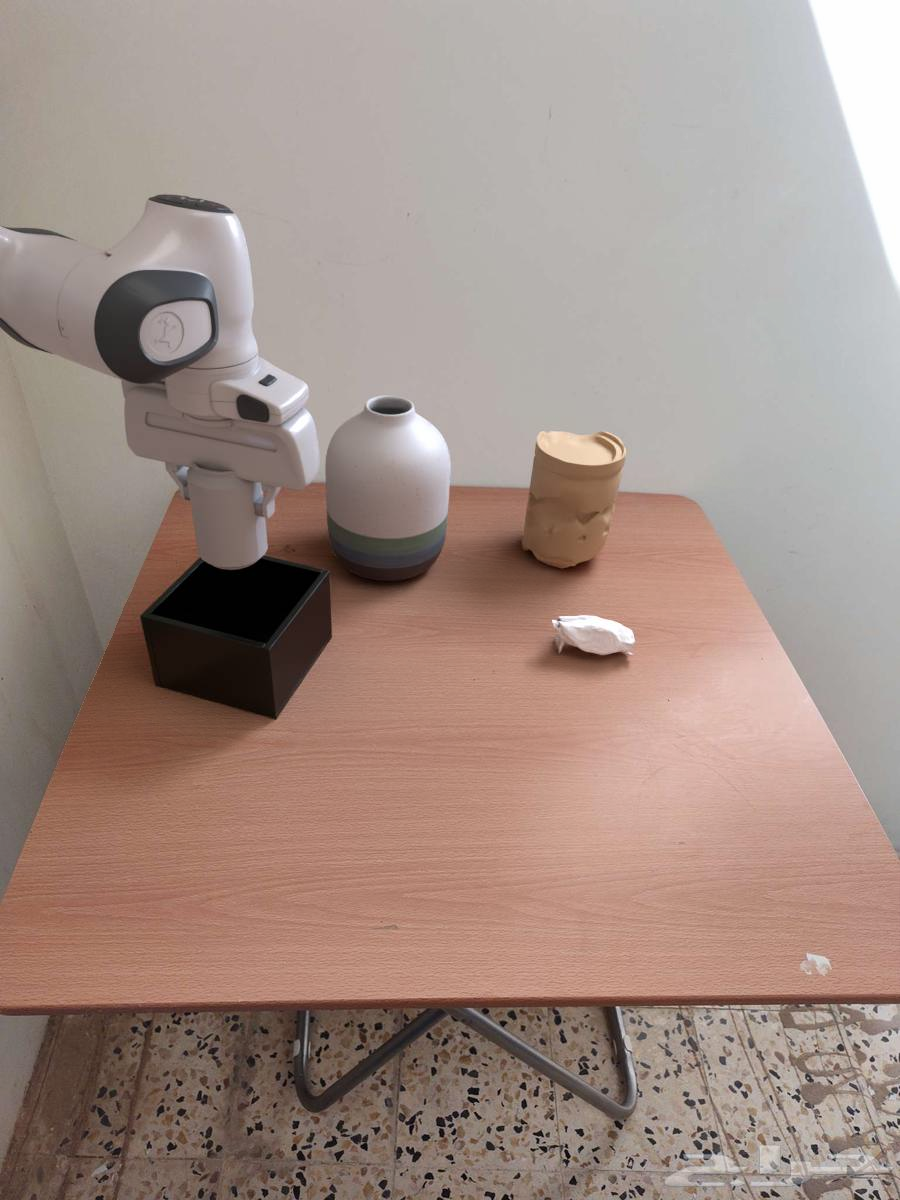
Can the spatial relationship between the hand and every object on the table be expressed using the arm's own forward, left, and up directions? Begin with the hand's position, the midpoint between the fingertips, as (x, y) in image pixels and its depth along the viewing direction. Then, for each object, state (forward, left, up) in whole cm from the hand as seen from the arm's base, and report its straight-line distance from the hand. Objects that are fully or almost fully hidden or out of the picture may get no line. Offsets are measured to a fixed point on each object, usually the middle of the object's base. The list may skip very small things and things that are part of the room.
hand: (228, 506), depth 85 cm
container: (+32, +39, -22) cm, 55 cm away
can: (0, 0, -6) cm, 6 cm away
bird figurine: (+40, +18, -22) cm, 49 cm away
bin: (0, 0, -22) cm, 22 cm away
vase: (+8, +27, -22) cm, 36 cm away
